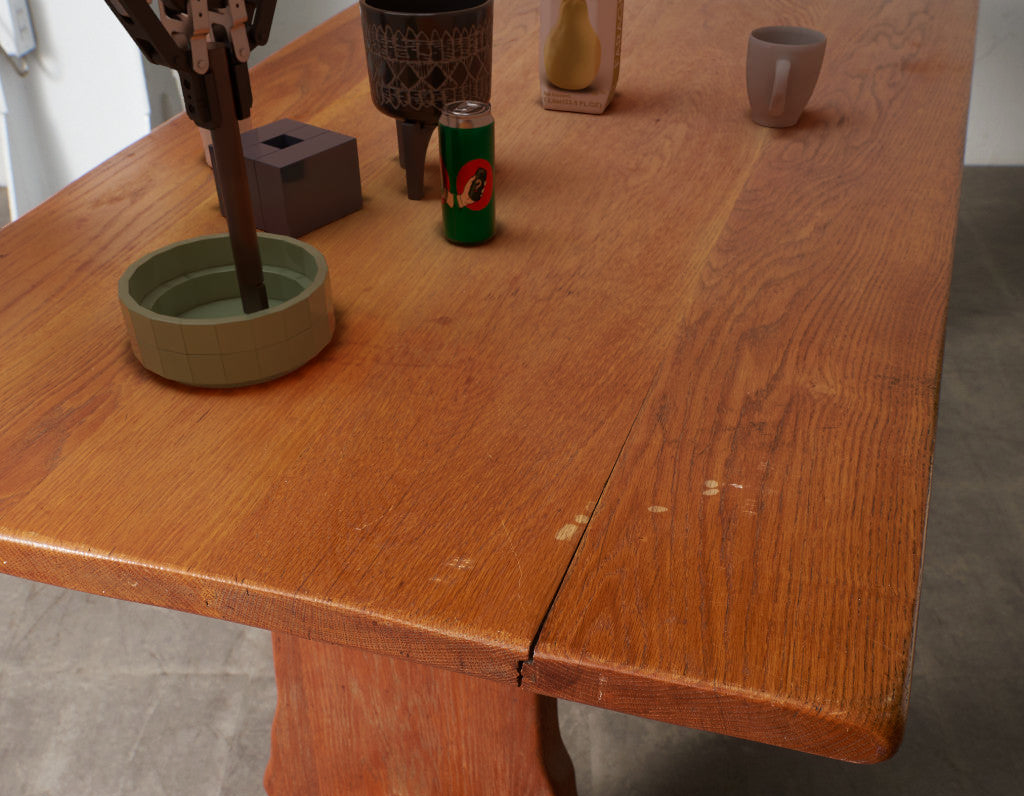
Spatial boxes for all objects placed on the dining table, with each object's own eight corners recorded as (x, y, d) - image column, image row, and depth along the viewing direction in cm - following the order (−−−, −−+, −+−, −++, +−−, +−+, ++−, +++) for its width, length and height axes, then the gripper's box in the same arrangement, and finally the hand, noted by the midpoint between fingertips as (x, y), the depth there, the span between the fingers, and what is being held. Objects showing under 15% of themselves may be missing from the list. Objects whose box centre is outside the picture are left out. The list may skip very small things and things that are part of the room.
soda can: (505, 232, 97) (505, 104, 90) (478, 252, 94) (474, 120, 86) (461, 221, 99) (457, 95, 92) (432, 240, 96) (425, 111, 88)
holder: (221, 215, 100) (207, 144, 96) (295, 184, 107) (285, 117, 102) (290, 240, 96) (279, 168, 91) (363, 207, 102) (356, 137, 97)
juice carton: (534, 111, 125) (536, -115, 110) (551, 92, 131) (555, -125, 116) (607, 118, 123) (620, -111, 108) (621, 98, 129) (635, -121, 114)
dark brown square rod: (236, 316, 79) (185, 45, 67) (256, 306, 81) (209, 39, 68) (258, 325, 78) (210, 52, 66) (277, 315, 79) (234, 45, 67)
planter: (351, 177, 108) (332, -5, 97) (447, 150, 115) (440, -24, 103) (422, 214, 101) (410, 21, 89) (520, 182, 107) (521, -1, 96)
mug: (740, 106, 127) (752, 23, 120) (812, 111, 125) (828, 27, 119) (732, 138, 118) (745, 50, 111) (810, 144, 116) (826, 55, 110)
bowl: (95, 353, 80) (74, 283, 76) (247, 281, 89) (235, 216, 85) (226, 420, 72) (210, 346, 68) (376, 334, 82) (369, 265, 78)
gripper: (220, -192, 65) (261, 88, 76) (26, -174, 57) (104, 138, 68) (301, -184, 61) (332, 107, 72) (107, -164, 53) (176, 163, 64)
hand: (222, 121), depth 70 cm, fingers closed on dark brown square rod, 2 cm apart
